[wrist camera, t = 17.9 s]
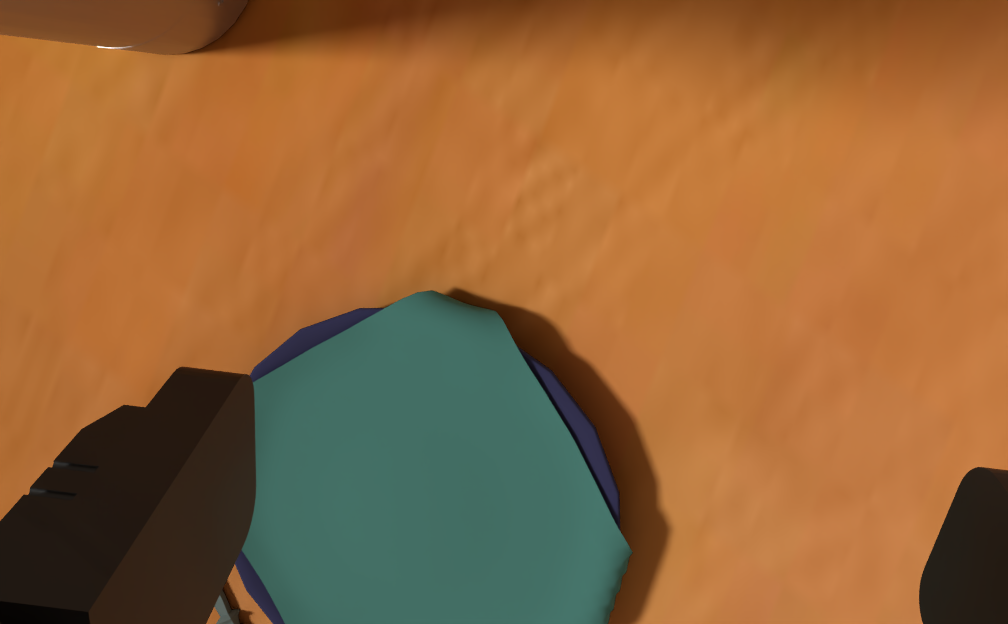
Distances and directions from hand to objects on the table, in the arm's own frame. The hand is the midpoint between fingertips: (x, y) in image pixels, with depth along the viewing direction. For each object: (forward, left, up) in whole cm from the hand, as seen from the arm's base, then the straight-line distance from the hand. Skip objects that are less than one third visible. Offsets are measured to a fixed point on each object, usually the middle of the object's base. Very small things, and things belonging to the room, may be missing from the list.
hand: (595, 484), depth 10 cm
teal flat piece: (-12, -19, -29) cm, 37 cm away
